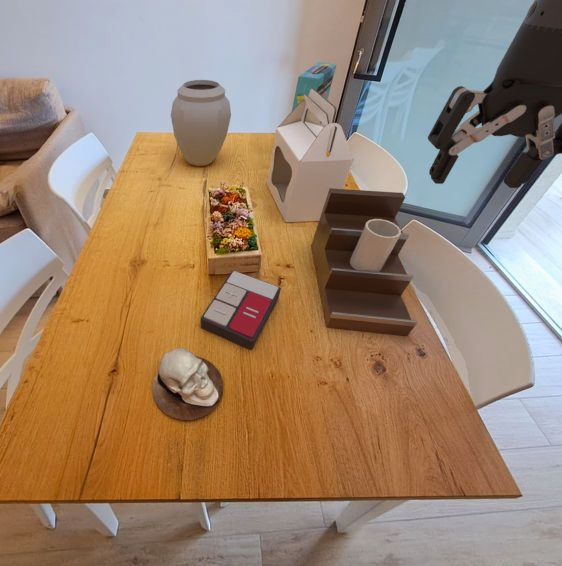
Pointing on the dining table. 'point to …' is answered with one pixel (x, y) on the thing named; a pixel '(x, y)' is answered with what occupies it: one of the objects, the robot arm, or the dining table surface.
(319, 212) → the gable box
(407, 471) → the dining table surface
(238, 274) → the calculator
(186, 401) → the skull
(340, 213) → the shelf rack
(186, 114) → the vase
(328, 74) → the game box
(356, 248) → the cup
